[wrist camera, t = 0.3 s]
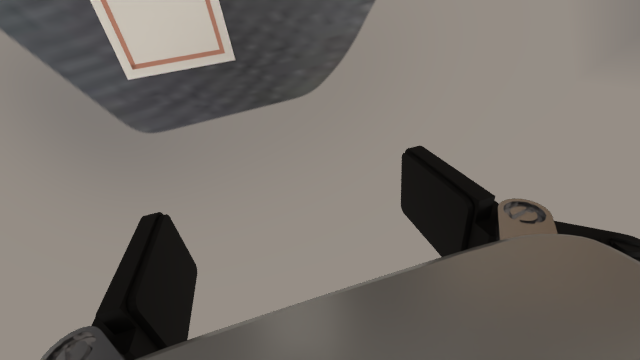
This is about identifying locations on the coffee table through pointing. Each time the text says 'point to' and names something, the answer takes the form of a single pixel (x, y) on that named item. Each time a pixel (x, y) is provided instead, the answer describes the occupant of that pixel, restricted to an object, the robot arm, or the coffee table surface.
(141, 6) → the marked paper
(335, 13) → the coffee table surface
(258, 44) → the coffee table surface
